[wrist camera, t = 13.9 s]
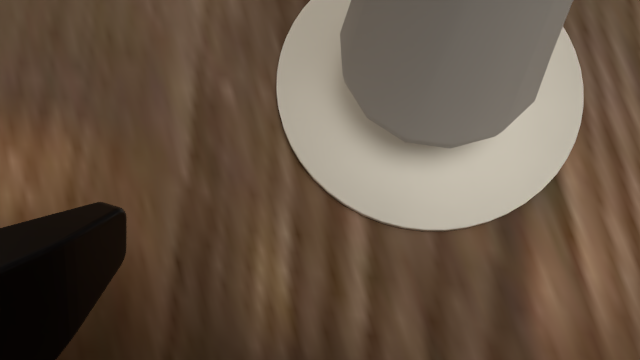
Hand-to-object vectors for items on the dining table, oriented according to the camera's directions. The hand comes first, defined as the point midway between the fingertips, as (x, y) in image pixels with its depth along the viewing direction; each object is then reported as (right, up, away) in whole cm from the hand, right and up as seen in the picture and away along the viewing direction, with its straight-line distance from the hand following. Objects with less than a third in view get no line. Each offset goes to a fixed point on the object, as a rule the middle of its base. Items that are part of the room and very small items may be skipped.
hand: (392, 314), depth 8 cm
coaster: (+2, +5, +10) cm, 11 cm away
